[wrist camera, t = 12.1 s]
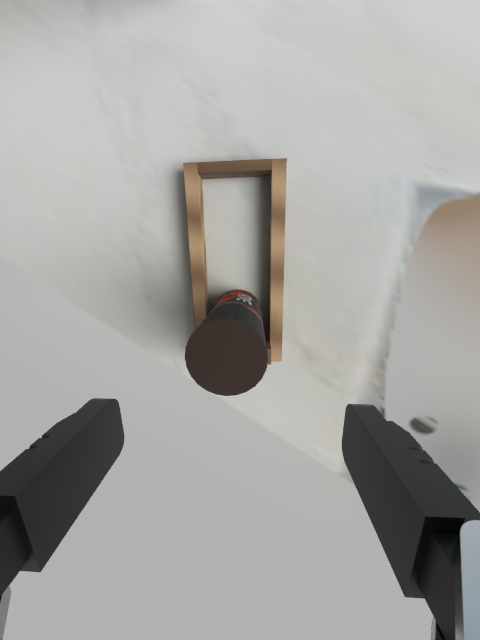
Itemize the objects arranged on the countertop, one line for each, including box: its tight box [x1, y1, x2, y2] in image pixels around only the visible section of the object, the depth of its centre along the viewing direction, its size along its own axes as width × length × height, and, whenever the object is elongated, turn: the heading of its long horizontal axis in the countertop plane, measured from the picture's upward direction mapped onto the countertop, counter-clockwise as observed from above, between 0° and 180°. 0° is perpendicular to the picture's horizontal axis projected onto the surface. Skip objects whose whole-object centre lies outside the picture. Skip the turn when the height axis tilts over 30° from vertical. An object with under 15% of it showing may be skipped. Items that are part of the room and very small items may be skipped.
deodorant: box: [185, 290, 268, 396], centre depth 24 cm, size 6×6×15 cm
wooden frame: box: [183, 158, 287, 364], centre depth 28 cm, size 23×11×4 cm, turn 1°
